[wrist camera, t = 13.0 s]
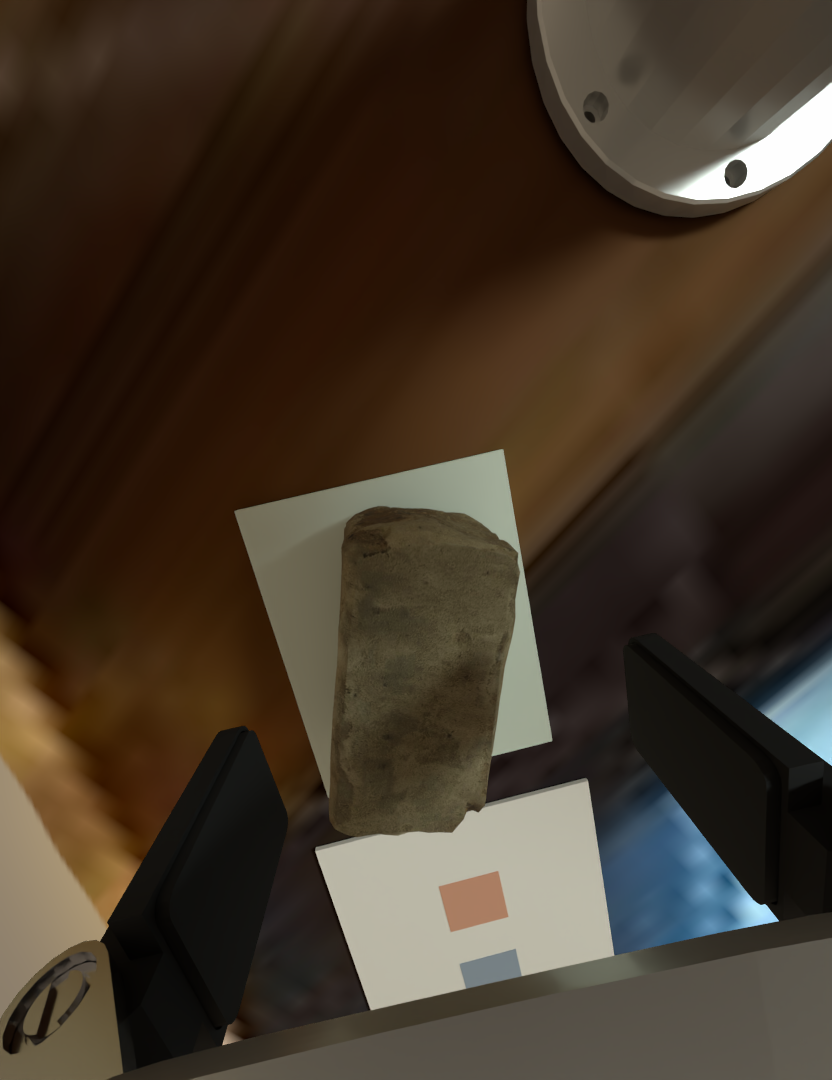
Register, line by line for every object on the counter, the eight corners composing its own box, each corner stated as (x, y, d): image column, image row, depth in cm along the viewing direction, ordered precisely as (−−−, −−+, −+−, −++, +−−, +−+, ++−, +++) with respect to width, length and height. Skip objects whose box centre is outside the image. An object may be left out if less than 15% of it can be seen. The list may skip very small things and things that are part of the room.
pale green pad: (237, 509, 16) (234, 511, 16) (500, 449, 17) (503, 449, 16) (329, 790, 19) (328, 797, 19) (549, 735, 20) (552, 741, 19)
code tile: (315, 847, 20) (315, 851, 20) (585, 777, 20) (588, 781, 20) (394, 1072, 24) (394, 1077, 23) (621, 1009, 24) (623, 1014, 24)
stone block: (339, 748, 18) (323, 853, 14) (348, 499, 16) (333, 517, 11) (463, 748, 19) (491, 850, 14) (488, 507, 17) (532, 528, 12)
